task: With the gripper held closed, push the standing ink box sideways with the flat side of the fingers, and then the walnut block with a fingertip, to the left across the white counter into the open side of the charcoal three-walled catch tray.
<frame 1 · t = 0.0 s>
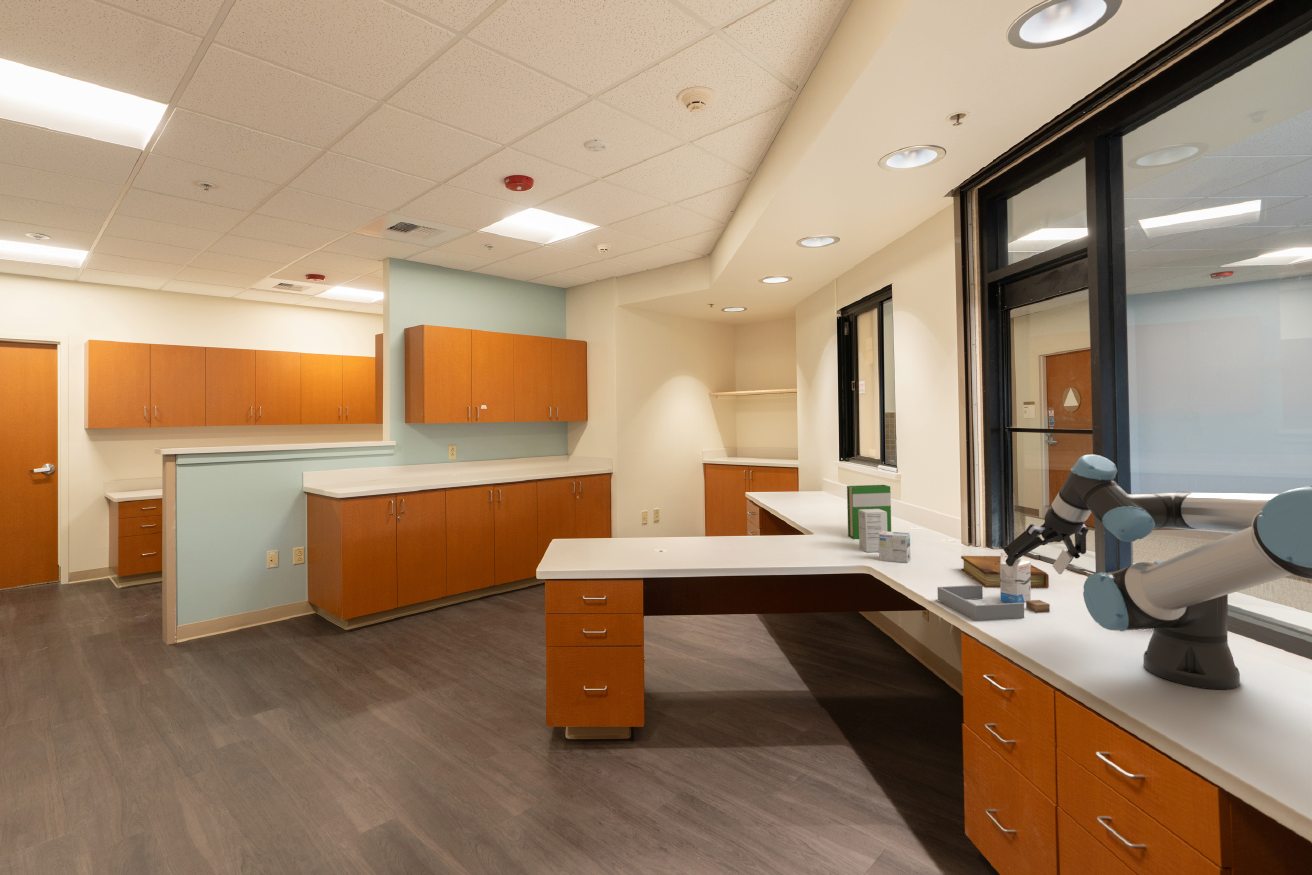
hand: (1031, 571, 153), 15 cm above the counter, tool tilted 35°, fingers open, 13 cm apart
hardback book: (869, 537, 278), on the counter
ink cartridge box: (1142, 622, 157), on the counter
supplement box: (873, 550, 251), on the counter
catch tray: (980, 608, 171), on the counter
diary: (1002, 580, 202), on the counter
walnut block: (1037, 610, 169), on the counter
light bulb box: (894, 560, 232), on the counter
ink box: (1015, 601, 178), on the counter
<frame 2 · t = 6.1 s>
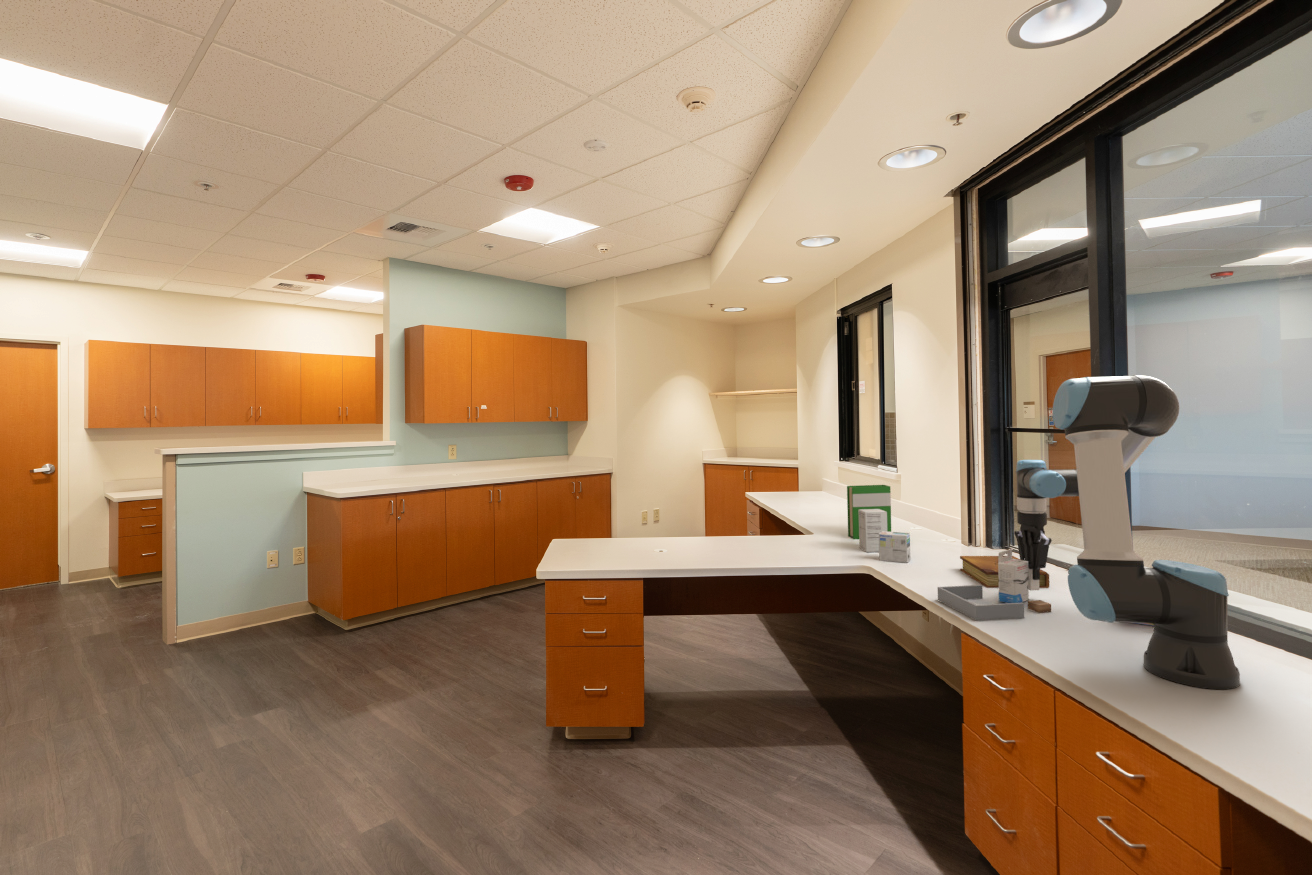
hand: (1033, 589, 178), 3 cm above the counter, tool pointing down, fingers closed
ink box: (1014, 601, 178), on the counter, touching gripper
everything else where it was.
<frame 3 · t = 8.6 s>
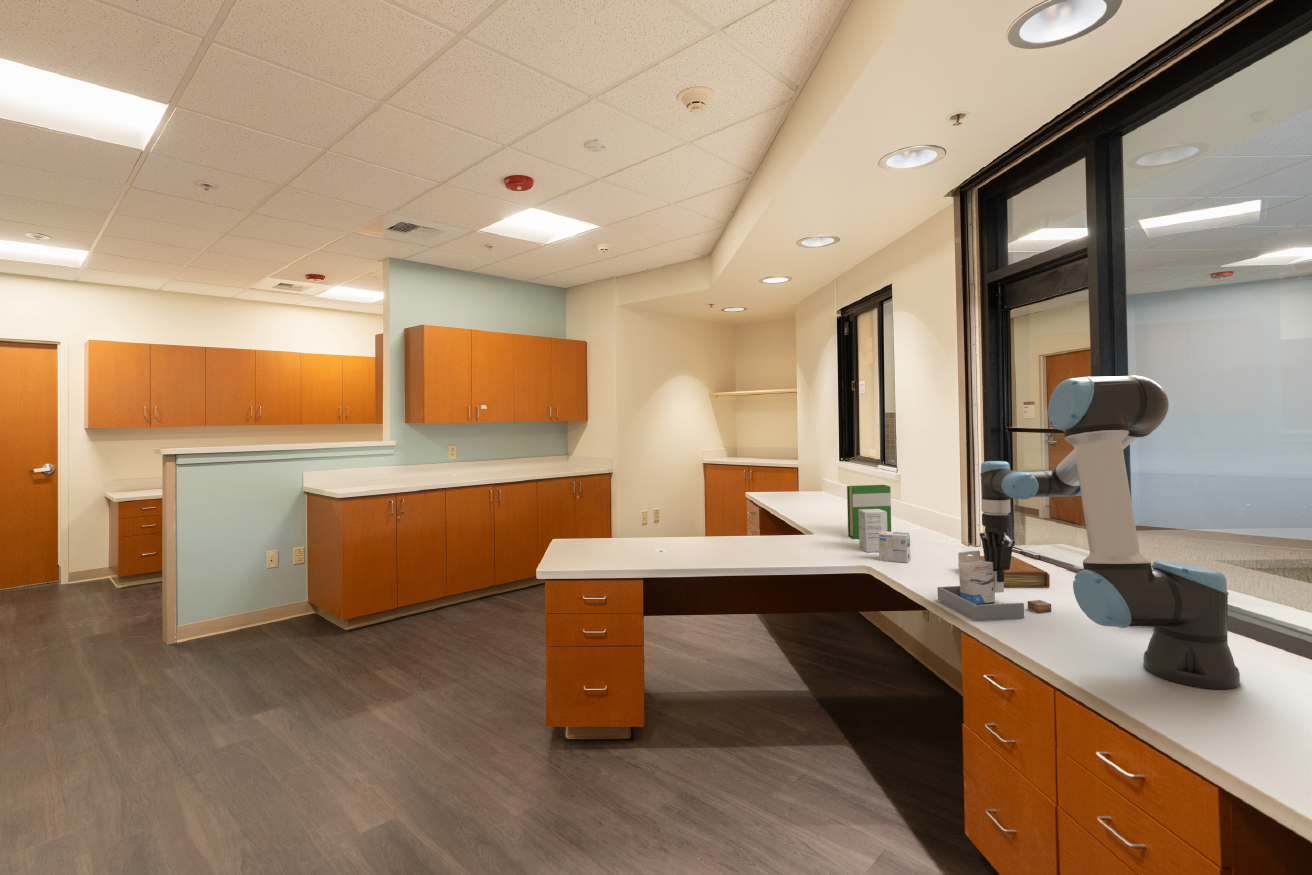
hand: (997, 591, 177), 3 cm above the counter, tool pointing down, fingers closed
ink box: (978, 602, 177), on the counter, touching gripper
everything else where it was.
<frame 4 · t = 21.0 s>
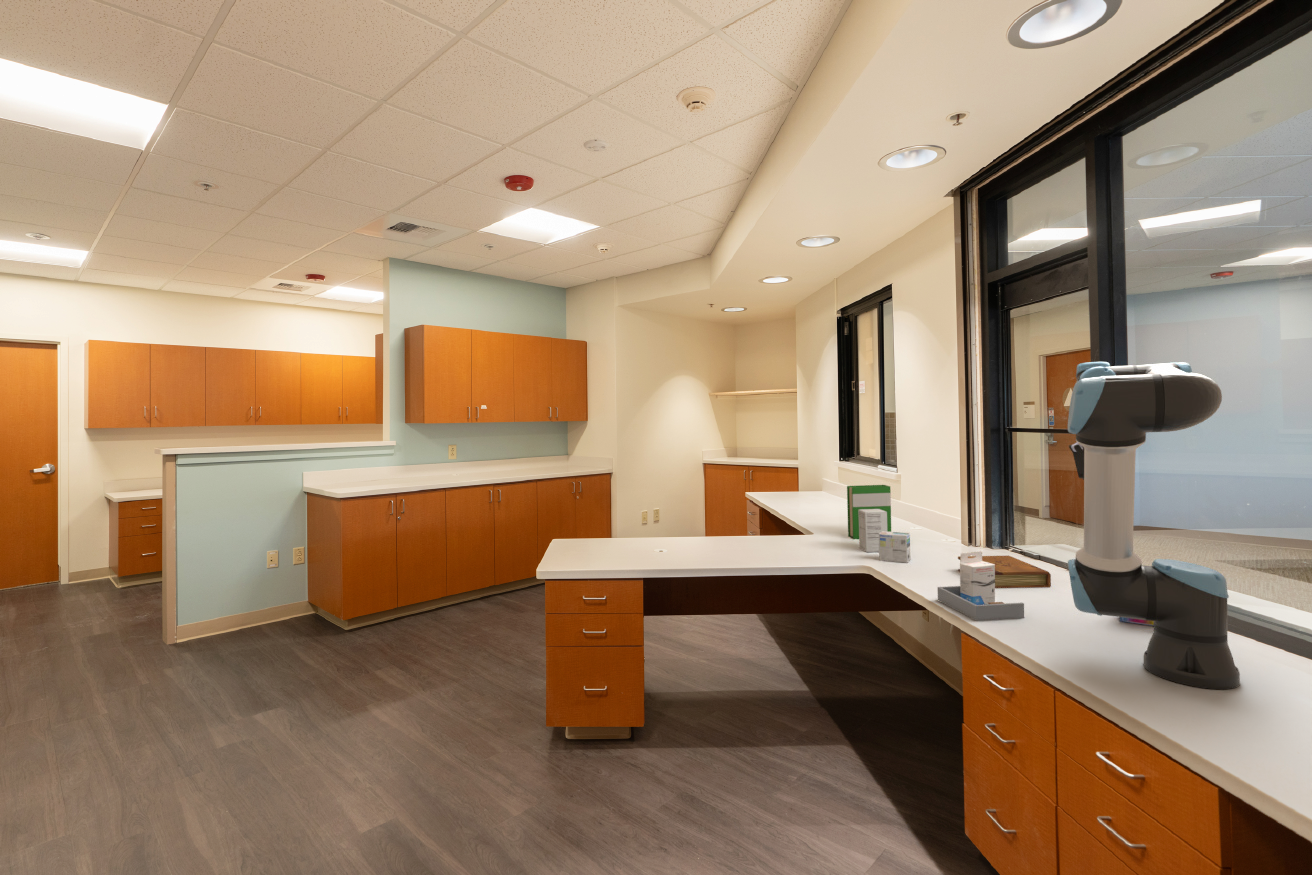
hand: (1094, 504, 163), 30 cm above the counter, tool pointing down, fingers closed
walnut block: (999, 612, 168), on the counter
ink box: (977, 603, 177), on the counter
at the end: ink box inside the target area on the catch tray (6.2 cm from its centre), point 0.0 cm above the catch tray's base; ink box tilted 0°; walnut block inside the target area on the catch tray (5.2 cm from its centre), point 0.0 cm above the catch tray's base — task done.
